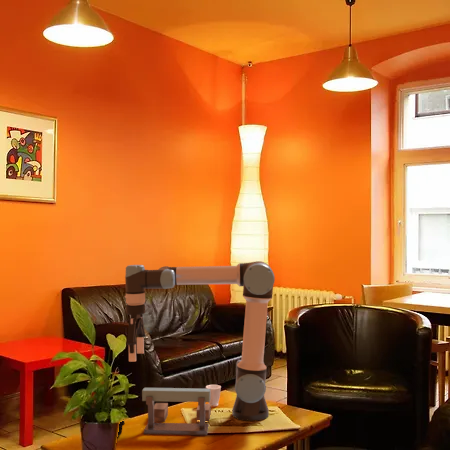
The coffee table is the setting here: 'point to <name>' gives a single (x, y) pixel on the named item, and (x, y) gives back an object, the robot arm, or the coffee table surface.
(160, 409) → the rest blocks
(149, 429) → the stand
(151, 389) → the rail
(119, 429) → the controller
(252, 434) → the coffee table surface
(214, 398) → the cup
